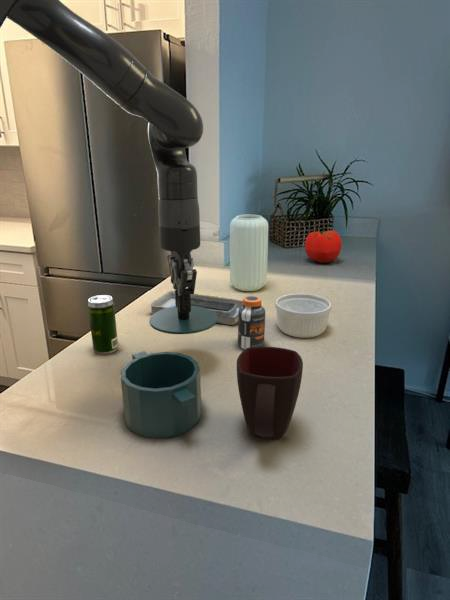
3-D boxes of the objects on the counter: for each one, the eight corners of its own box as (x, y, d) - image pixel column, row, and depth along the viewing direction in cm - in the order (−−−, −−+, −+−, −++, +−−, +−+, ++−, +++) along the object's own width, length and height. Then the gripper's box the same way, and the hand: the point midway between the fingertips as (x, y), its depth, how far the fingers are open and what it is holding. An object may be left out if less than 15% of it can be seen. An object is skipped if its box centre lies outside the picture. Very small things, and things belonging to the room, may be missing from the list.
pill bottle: (251, 353, 93) (252, 305, 89) (232, 345, 97) (232, 297, 93) (269, 345, 97) (271, 298, 93) (250, 337, 101) (251, 291, 97)
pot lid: (169, 343, 77) (167, 313, 75) (138, 319, 88) (136, 292, 86) (231, 326, 84) (231, 297, 82) (195, 305, 95) (194, 280, 93)
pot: (152, 459, 62) (148, 409, 59) (108, 401, 76) (103, 358, 73) (224, 428, 69) (224, 381, 66) (171, 380, 83) (169, 340, 80)
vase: (253, 296, 128) (254, 221, 120) (222, 288, 134) (222, 217, 126) (273, 286, 136) (275, 215, 129) (243, 279, 143) (244, 212, 135)
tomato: (333, 256, 171) (335, 226, 167) (344, 266, 158) (347, 234, 153) (300, 257, 170) (301, 227, 166) (308, 266, 157) (310, 235, 153)
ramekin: (322, 344, 97) (324, 316, 94) (266, 334, 102) (267, 307, 100) (334, 323, 108) (336, 297, 106) (283, 315, 113) (284, 290, 111)
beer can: (122, 345, 97) (117, 295, 93) (112, 356, 92) (107, 304, 88) (99, 343, 98) (93, 294, 94) (89, 354, 93) (82, 302, 89)
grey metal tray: (170, 299, 126) (169, 289, 125) (252, 308, 118) (252, 298, 117) (147, 315, 114) (147, 305, 113) (237, 327, 106) (237, 316, 105)
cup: (299, 412, 73) (303, 348, 69) (297, 470, 60) (302, 396, 56) (241, 406, 74) (241, 344, 70) (227, 462, 62) (227, 389, 57)
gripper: (152, 217, 84) (157, 300, 90) (167, 230, 72) (172, 325, 78) (189, 215, 86) (192, 296, 92) (210, 227, 74) (212, 320, 80)
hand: (183, 309), depth 85 cm, fingers closed on pot lid, 2 cm apart
